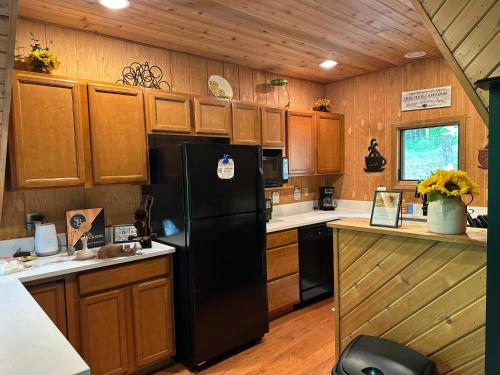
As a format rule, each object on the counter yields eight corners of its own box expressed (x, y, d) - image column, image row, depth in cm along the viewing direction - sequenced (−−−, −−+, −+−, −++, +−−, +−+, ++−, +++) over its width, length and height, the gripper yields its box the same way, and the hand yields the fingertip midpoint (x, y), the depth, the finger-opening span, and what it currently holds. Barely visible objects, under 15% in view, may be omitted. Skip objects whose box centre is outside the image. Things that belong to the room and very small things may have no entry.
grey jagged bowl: (136, 250, 245) (136, 243, 244) (135, 255, 231) (134, 247, 231) (116, 252, 241) (116, 244, 241) (113, 257, 228) (113, 248, 227)
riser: (130, 249, 251) (130, 244, 251) (129, 250, 247) (129, 245, 247) (124, 249, 250) (124, 244, 250) (123, 250, 246) (123, 246, 246)
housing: (123, 252, 242) (122, 244, 242) (120, 256, 229) (120, 249, 229) (102, 253, 239) (101, 246, 239) (98, 258, 226) (97, 250, 225)
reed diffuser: (63, 256, 235) (61, 227, 233) (65, 254, 241) (64, 225, 240) (79, 255, 237) (78, 226, 236) (81, 252, 244) (80, 224, 243)
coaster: (132, 250, 240) (132, 247, 240) (132, 252, 234) (132, 249, 234) (123, 251, 239) (123, 248, 238) (123, 253, 233) (122, 250, 233)
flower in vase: (72, 259, 226) (70, 221, 224) (87, 255, 236) (85, 219, 234) (85, 261, 219) (83, 222, 218) (100, 257, 229) (98, 220, 228)
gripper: (156, 224, 248) (157, 245, 249) (128, 226, 243) (129, 247, 244) (155, 226, 237) (156, 249, 238) (127, 228, 233) (128, 251, 234)
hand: (142, 249), depth 239 cm, fingers closed
